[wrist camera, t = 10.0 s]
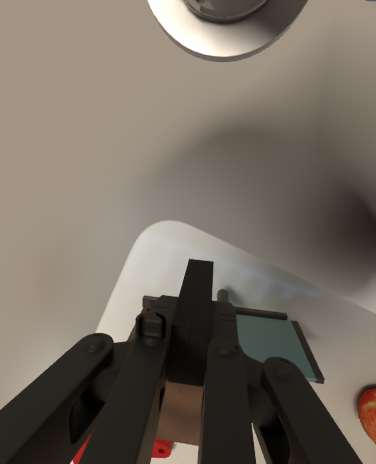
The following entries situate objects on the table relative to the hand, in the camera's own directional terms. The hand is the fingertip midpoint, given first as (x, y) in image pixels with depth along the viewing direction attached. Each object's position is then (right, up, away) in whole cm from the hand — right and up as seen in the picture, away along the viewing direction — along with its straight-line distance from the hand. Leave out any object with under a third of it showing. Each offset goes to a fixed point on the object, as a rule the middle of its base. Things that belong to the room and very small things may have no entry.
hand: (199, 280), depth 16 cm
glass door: (+10, -8, +26) cm, 29 cm away
